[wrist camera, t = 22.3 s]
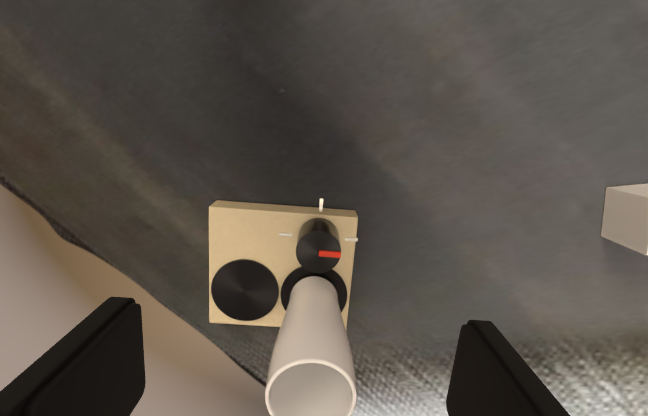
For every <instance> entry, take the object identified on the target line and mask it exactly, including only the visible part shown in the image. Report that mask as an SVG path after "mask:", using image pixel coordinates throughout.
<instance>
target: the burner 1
mask: <svg viewBox="0 0 648 416" xmlns="http://www.w3.org/2000/svg"><path fill="white" fill-rule="evenodd" d="M211 294H212V298H213V301H214V303H215V304H216V306H217V307H218V308H219V310H220V311H221V312H223V313H224V314H225V315H227V316H228V317H230V318H233V319H236V320H240V321H253V320H257V319H260V318H262V317H264V316H266V315H267V314H268V313H269V312H271V310H272V309H273V308H274V306H275V305H276V303H277V300H278V296H279V287H278V282H277V280H276V278H275V276H274V274H273V273H272V272H271V271H270V270H269V269H268V268H267V267H266V266H264V265H263V264H261V263H259V262H257V261H254V260H249V259H239V260H234V261H231V262H228V263H227V264H225V265H223V266H222V267H221V268H220V269H219V270H218V271H217V272H216V274H215V276H214V278H213V280H212V284H211Z"/></svg>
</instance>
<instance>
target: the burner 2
mask: <svg viewBox="0 0 648 416" xmlns="http://www.w3.org/2000/svg"><path fill="white" fill-rule="evenodd" d="M310 276H318V277H322V278H324V279H326V280H328V281H329V282H331V283H332V285H333V286H334V287H335V289H336V291H337V295H338V303H339V307H340V311H341V312H342V311H343V309H344V307H345V305H346V302H347V288H346V285H345V282H344V280H343V279H342V277H341V276H340V275H339V274H338V273H337V272H336V271H335V270H333V269H331V270H329V271H327V272H324V273H313V272H310V271H308V270H306V269H304V268H303V267H302V266H301V267H298V268H296V269H295V270H293V271H292V272H291V273H290V274H289V275H288V276H287V277H286V278H285V280H284V282H283V284H282V287H281V293H280V297H281V303H282V306H283V308H284V309H285V311H286V309H287V306H288V303H289V299H290V294H291V291H292V289H293V287H294V286H295V284H296V283H297V282H298V281H300V280H301V279H303V278H306V277H310Z"/></svg>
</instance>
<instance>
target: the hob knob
mask: <svg viewBox="0 0 648 416" xmlns="http://www.w3.org/2000/svg"><path fill="white" fill-rule="evenodd" d="M296 257H297V260H298V262H299V264H300V265H301V266H302V267H303V268H304V269H306V270H308V271H310V272H313V273H324V272H327V271H329V270H331V269H333V268H334V267H335V266H336V265H337V263H338V262H339V260H340V258H341V246H340V240H339V234H338V230H337V228H336V226H335V225H334V224H333V223H332V222H331V221H329V220H327V219H324V218H313V219H310V220H308V221H307V222H305V223H304V224H303V225H302V227H301V228H300V231H299V235H298V240H297V246H296Z"/></svg>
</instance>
